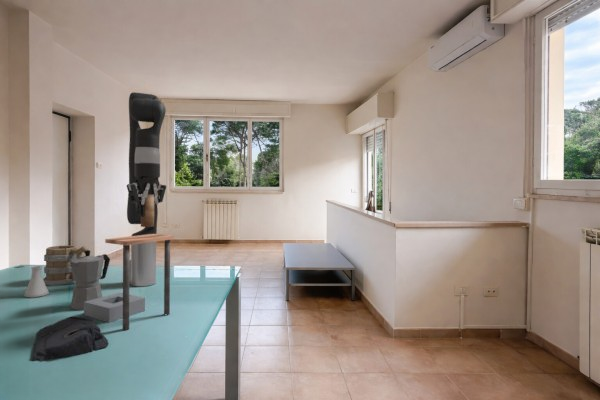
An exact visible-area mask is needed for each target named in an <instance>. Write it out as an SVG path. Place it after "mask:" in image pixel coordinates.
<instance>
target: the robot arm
mask: <svg viewBox="0 0 600 400" xmlns="http://www.w3.org/2000/svg"><path fill="white" fill-rule="evenodd" d="M166 111H167V109H166V106H165V105H164V103H163V102H162V101H161V100H160V99H159V97H158V96H156V95H155V94H152V93H145V92H144V93H141V92H131V93H130V94H129V97H128V116H129V118H128V119H129V144H128V145H129V146H128V179H129V180H128V184H126V188H127V193H128V195H127V206H126V219H127V221H128V223H129V224H130V225H141V217H144V216H145V205H144V203H145V198H146V197H147V195H154V226H153V227H143V228H142V229H141V230H139V231H136V232H134V233H132V234H131V236H138V235H147V234H158V232H157V231H158V230H157V229H158V228H157V227H158V213H159V212H158V211H159V209H158V204H159V203H163V202H164V197H165V194H166V190H167V185H166V184H161V183H160V180H159V178H160V177H161V152H160V151H161V150H160V137H161V136H160V134H161V129H162V125H163V123H164V119H165V117H166ZM139 122H141V123H143V122H144V123H153V124H152V126H150V127H147V128H142V127H141V125H140V123H139ZM156 281H157V241H156V242H149V243H141V244H134V245H130V273H129V285H130V286H133V287H148V286H152V285H155V284H156Z"/></svg>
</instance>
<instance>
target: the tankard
mask: <svg viewBox="0 0 600 400" xmlns="http://www.w3.org/2000/svg"><path fill="white" fill-rule="evenodd" d="M86 250H89V249H88V248H87V247H86V246H81V247H79V248H78V246H77V245H71V244H69V245H67V244H66V245H54V246H49V247H47V248H46V249H45V254H44V255H43V261H44V262H45V266H44V267H43V273H44V274H45V277H43V280H44V283H45V285H46V286H64V285H69V284H70V285H71V284H75V281H74V279H73V274H72V268H71V266H69V265H68V264H69V263H70V261H71V260H74V259H77V258H80V257H84V256H83V254H85V251H86Z"/></svg>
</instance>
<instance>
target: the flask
mask: <svg viewBox="0 0 600 400" xmlns="http://www.w3.org/2000/svg"><path fill="white" fill-rule="evenodd" d="M30 269H31V276H30V280H29V282H28V284H27V287H26V289H25V292H24V294H23V296H24V298H40V297H44V296H48V295H50V292H49V290H48V287H47V285H45V283H44V280H43V279H44V277H43V274H42V269H43V266H41V265H40V266H38V265H37V266H31V268H30Z"/></svg>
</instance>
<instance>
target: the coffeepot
mask: <svg viewBox="0 0 600 400" xmlns="http://www.w3.org/2000/svg"><path fill="white" fill-rule="evenodd" d="M84 255H85V256H83V257H80V258H77V259H74V260H71V261H70V263H69V264H68V265H69V266H71V268H72V274H73V279H74V281H75V283H74V284H75V285H74V287H73V290H72V291H73V292H72V297H71V302H70V308H71V309H72V310H76V311H84V302H85V301H89V300H93V299H97V298H101V297H103V293H102V288H101V287H102V286H101V284H100V280H103V279H106V276H107V272H108V269H109V266H110V261H111V258H110V256H108V255H107V254H105V253H104V254H100V255H99V254H98V255H96V256H94V255H91V250H89V249H88V250H86V251H85V253H84Z"/></svg>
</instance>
